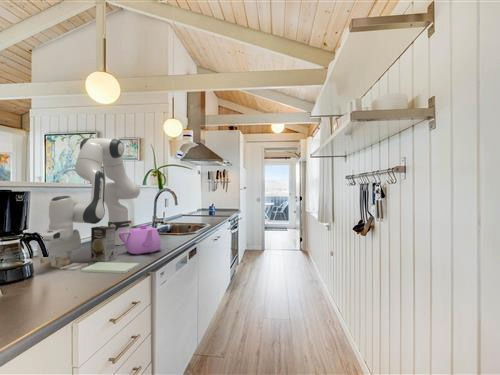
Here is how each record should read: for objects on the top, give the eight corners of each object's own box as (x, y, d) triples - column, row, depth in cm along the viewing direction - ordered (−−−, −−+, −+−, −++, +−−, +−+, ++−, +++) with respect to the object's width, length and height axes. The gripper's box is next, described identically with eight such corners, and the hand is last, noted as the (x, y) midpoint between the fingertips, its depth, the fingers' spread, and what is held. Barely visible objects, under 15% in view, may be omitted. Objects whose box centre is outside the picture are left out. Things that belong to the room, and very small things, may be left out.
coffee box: (90, 260, 127) (90, 227, 127) (101, 257, 133) (101, 225, 133) (105, 262, 124) (105, 228, 124) (115, 258, 130) (115, 226, 130)
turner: (34, 269, 114) (34, 260, 114) (50, 263, 122) (50, 255, 122) (74, 270, 112) (74, 261, 112) (88, 265, 120) (88, 256, 120)
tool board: (98, 264, 121) (98, 262, 121) (139, 265, 119) (139, 263, 119) (80, 271, 110) (80, 269, 110) (125, 273, 108) (125, 270, 108)
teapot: (115, 252, 144) (115, 224, 144) (154, 247, 157) (154, 221, 157) (124, 261, 126) (124, 230, 126) (167, 254, 138) (167, 226, 138)
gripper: (72, 228, 128) (72, 256, 128) (33, 236, 107) (33, 269, 107) (84, 228, 127) (84, 257, 127) (47, 236, 107) (47, 270, 107)
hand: (61, 263), depth 117 cm, fingers open, 6 cm apart
